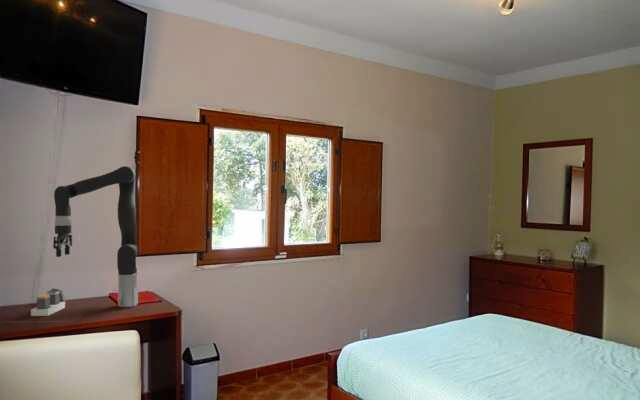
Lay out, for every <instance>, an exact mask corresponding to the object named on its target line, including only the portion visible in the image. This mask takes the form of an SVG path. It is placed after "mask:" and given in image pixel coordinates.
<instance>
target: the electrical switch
mask: <svg viewBox="0 0 640 400" xmlns="http://www.w3.org/2000/svg"><path fill="white" fill-rule="evenodd" d="M50 291H60V293H59V302H65V305H66V304H67V302H66V299H65V295H64V293H63V290H62V288H57V287H52V288H51V289H50V290H49V291H47V292H46V294H47V293H48V292H50Z"/></svg>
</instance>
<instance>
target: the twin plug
mask: <svg viewBox="0 0 640 400" xmlns="http://www.w3.org/2000/svg"><path fill="white" fill-rule="evenodd" d="M49 291H50V290H49ZM47 292H48V291H47ZM47 292H46V295H50V305H57V304H59V293H60V291H50V292H48V293H47Z"/></svg>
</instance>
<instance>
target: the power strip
mask: <svg viewBox="0 0 640 400" xmlns="http://www.w3.org/2000/svg"><path fill="white" fill-rule="evenodd" d="M65 308H66V304H65V302H59V304H57V305H50V308H48V309H37V306H36V307H33V308H31V309H30V317H49V316H51V315H53V314H55V313H57V312H59V311H61V310H63V309H65Z"/></svg>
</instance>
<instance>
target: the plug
mask: <svg viewBox="0 0 640 400" xmlns="http://www.w3.org/2000/svg"><path fill="white" fill-rule="evenodd" d="M36 307H37V309H48V308H50V295H47V294H40V295H36Z"/></svg>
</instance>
